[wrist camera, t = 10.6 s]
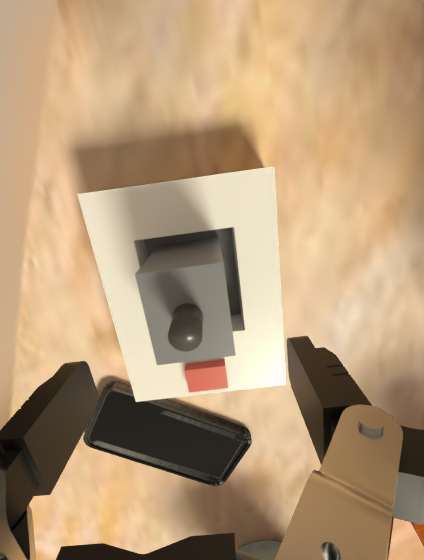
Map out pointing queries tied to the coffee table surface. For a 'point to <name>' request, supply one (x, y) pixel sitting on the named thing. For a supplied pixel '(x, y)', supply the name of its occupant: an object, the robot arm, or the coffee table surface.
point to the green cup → (262, 549)
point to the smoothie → (419, 531)
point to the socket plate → (237, 263)
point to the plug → (186, 301)
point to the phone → (166, 436)
